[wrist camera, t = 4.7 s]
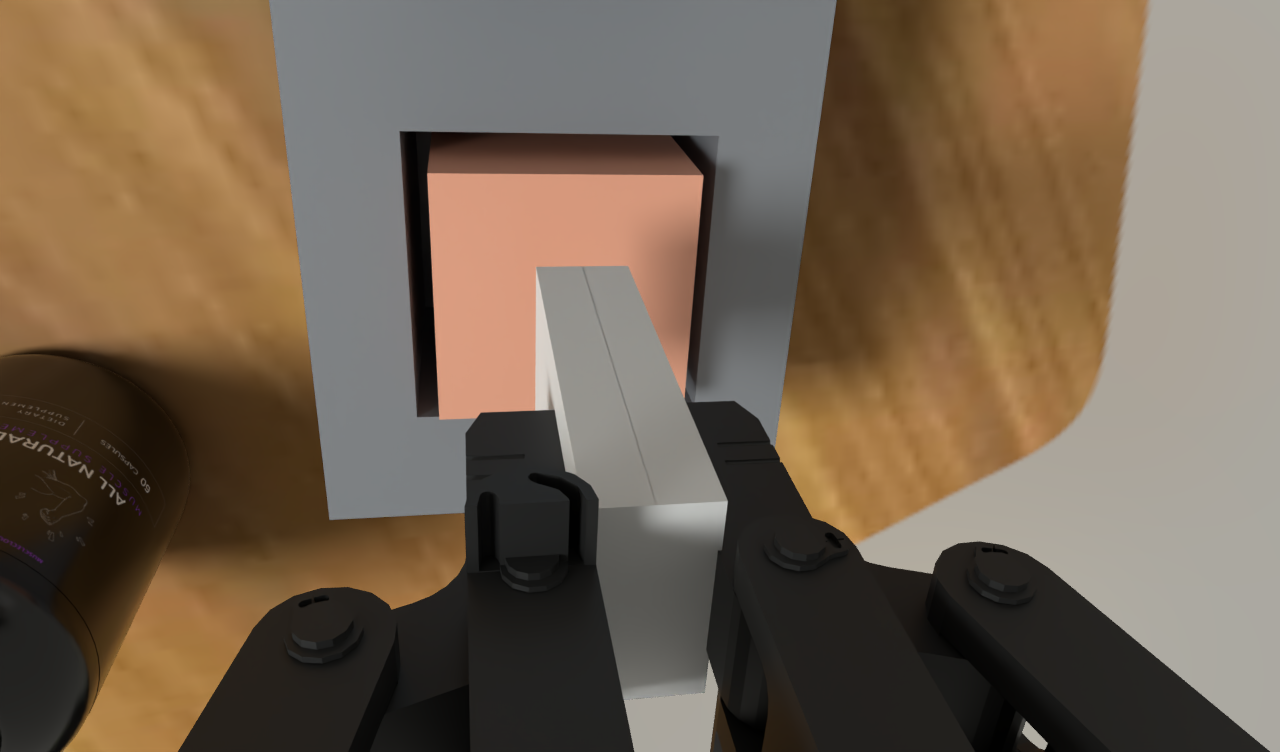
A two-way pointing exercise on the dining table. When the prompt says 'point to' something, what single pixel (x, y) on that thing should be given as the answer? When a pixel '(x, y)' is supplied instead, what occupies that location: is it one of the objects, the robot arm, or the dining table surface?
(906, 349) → the dining table surface
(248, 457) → the dining table surface
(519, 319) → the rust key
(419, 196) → the console
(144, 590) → the supplement bottle
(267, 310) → the dining table surface
